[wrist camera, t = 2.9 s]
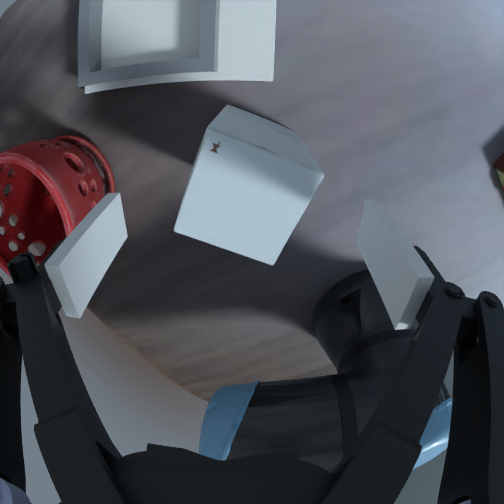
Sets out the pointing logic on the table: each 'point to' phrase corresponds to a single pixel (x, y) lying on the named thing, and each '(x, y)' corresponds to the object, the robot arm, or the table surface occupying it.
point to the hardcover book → (500, 168)
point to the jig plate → (174, 41)
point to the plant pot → (49, 191)
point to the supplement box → (247, 186)
